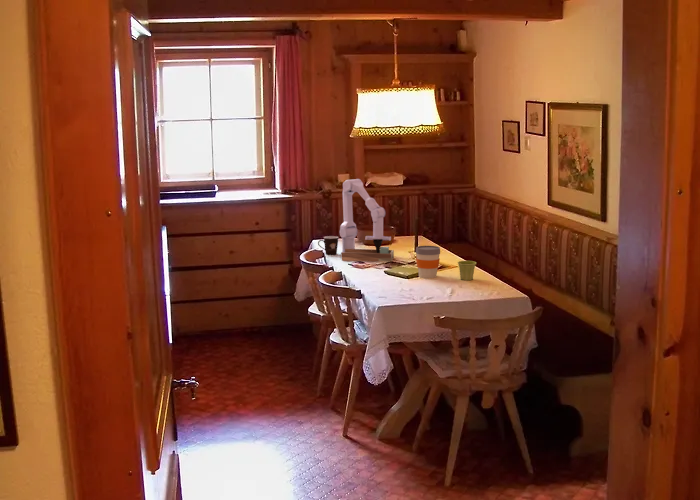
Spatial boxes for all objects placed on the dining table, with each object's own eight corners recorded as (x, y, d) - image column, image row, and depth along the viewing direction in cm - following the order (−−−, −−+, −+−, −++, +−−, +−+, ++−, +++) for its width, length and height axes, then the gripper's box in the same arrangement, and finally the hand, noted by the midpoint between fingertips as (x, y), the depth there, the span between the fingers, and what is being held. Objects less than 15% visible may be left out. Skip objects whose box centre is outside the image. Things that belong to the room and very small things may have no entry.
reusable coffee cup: (443, 278, 434) (444, 249, 432) (420, 279, 431) (421, 250, 428) (434, 273, 446) (434, 245, 443) (411, 274, 443) (412, 246, 440)
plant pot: (477, 281, 427) (478, 264, 426) (459, 281, 426) (459, 264, 425) (473, 277, 436) (474, 260, 435) (455, 277, 436) (455, 260, 434)
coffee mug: (339, 252, 504) (339, 236, 503) (337, 255, 496) (337, 238, 494) (319, 252, 506) (319, 235, 504) (317, 255, 497) (317, 238, 495)
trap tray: (345, 256, 494) (345, 248, 493) (393, 257, 489) (393, 250, 488) (341, 260, 481) (341, 252, 480) (391, 261, 477) (391, 254, 476)
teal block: (380, 254, 488) (381, 246, 488) (388, 254, 488) (388, 246, 487) (379, 255, 484) (380, 248, 483) (387, 256, 483) (387, 248, 483)
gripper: (364, 229, 481) (364, 253, 483) (390, 230, 479) (389, 254, 481) (366, 227, 488) (366, 251, 490) (391, 228, 486) (391, 252, 488)
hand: (378, 252), depth 486 cm, fingers closed
